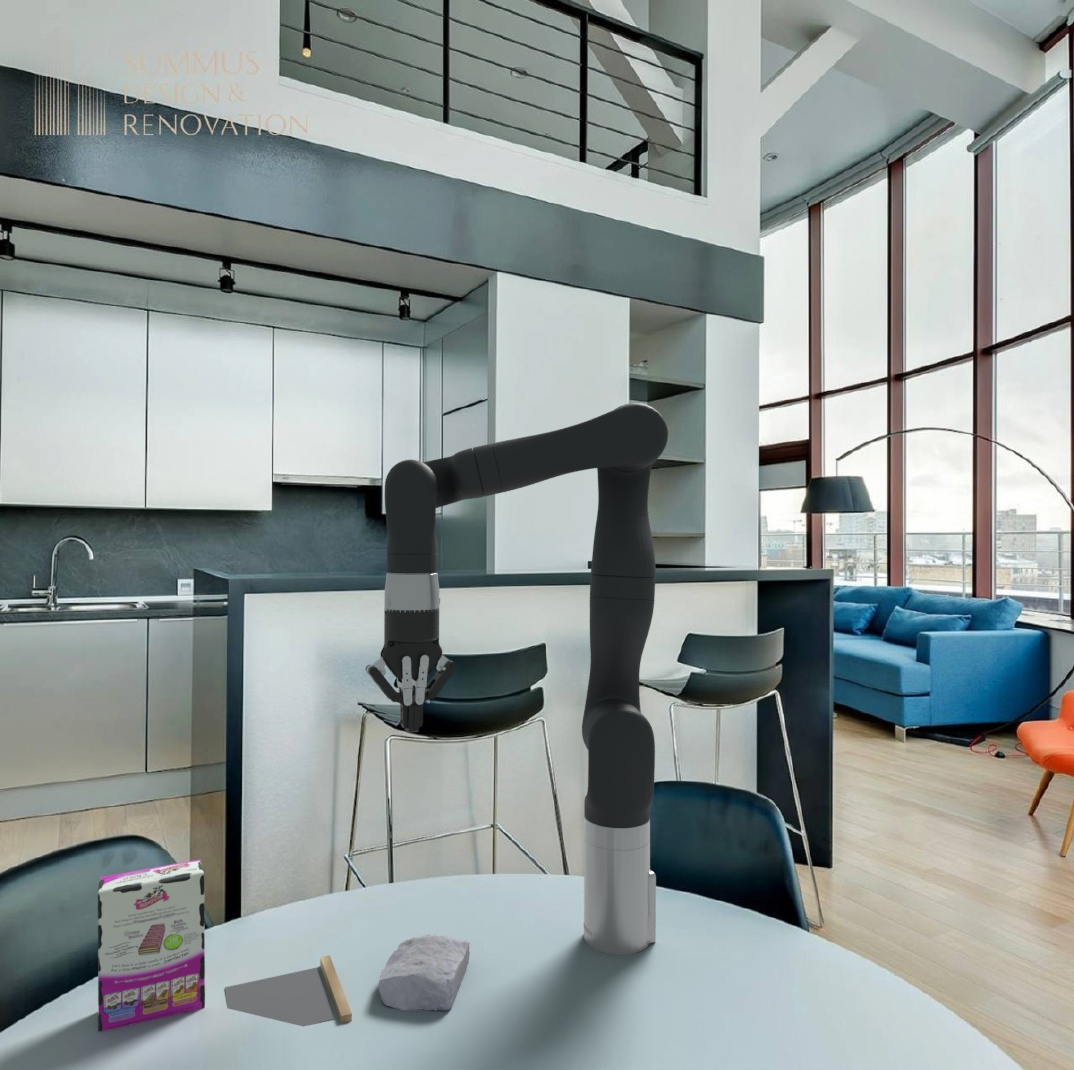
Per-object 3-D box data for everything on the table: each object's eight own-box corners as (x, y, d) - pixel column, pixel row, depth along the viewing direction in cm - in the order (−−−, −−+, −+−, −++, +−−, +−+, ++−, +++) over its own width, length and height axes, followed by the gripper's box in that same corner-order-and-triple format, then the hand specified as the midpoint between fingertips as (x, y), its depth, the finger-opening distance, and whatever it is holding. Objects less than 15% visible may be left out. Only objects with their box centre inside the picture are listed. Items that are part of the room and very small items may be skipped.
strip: (329, 964, 103) (329, 955, 103) (351, 1024, 91) (351, 1013, 91) (320, 966, 103) (320, 957, 103) (341, 1026, 90) (341, 1016, 90)
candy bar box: (201, 991, 97) (202, 856, 97) (205, 1012, 93) (206, 872, 93) (97, 1015, 92) (98, 874, 92) (96, 1040, 88) (97, 891, 88)
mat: (316, 971, 102) (316, 967, 102) (334, 1023, 91) (334, 1018, 91) (224, 991, 97) (224, 987, 97) (231, 1048, 86) (231, 1043, 86)
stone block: (375, 1023, 93) (457, 1013, 92) (368, 982, 93) (450, 971, 92) (402, 972, 105) (475, 962, 104) (396, 935, 105) (469, 925, 104)
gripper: (449, 602, 116) (448, 721, 116) (358, 605, 110) (357, 729, 110) (466, 606, 109) (465, 732, 109) (370, 609, 104) (369, 742, 103)
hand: (411, 730), depth 110 cm, fingers closed
